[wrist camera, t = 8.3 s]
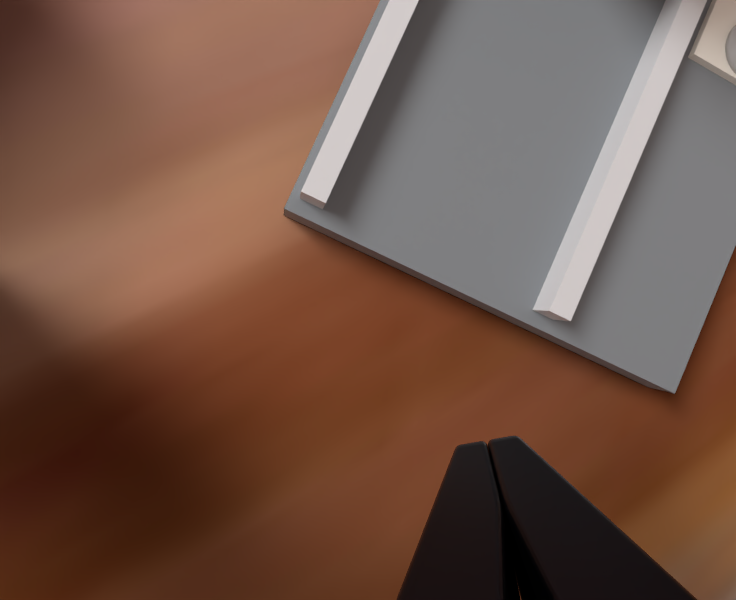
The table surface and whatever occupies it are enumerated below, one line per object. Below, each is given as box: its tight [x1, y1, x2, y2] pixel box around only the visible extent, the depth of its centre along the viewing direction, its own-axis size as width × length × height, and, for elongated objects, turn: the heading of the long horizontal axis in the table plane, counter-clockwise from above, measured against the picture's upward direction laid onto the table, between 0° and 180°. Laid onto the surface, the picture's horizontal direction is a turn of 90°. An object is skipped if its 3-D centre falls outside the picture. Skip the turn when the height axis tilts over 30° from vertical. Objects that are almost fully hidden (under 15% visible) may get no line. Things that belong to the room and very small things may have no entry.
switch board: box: [284, 0, 736, 394], centre depth 20 cm, size 18×15×3 cm
